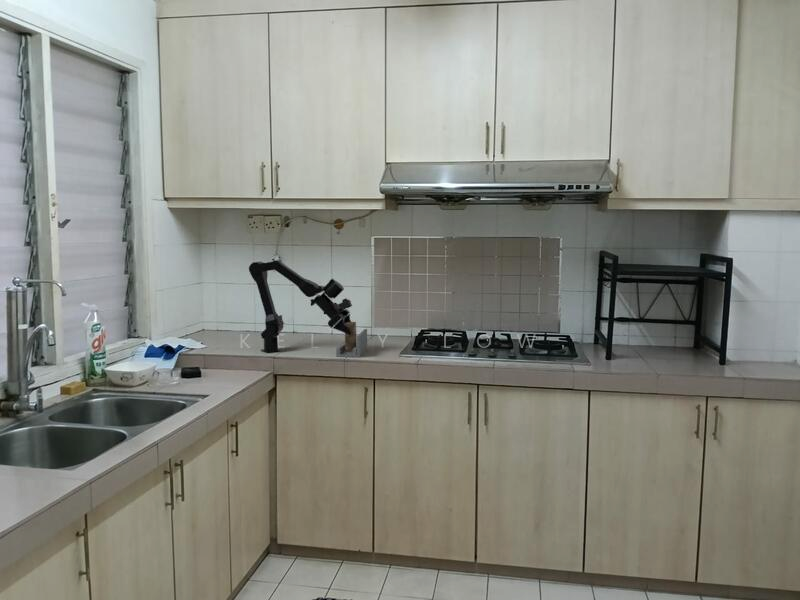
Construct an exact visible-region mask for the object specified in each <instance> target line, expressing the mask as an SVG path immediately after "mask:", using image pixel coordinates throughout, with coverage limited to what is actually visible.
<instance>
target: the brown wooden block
mask: <svg viewBox="0 0 800 600" xmlns="http://www.w3.org/2000/svg"><path fill="white" fill-rule="evenodd" d="M346 326H347V327H348V329H349V330H350V331H351V334H350V335H349V334H346V333H344V342H345V352H353V348H354V347H355V346H357V322H356V321H351V322H347V323H346Z"/></svg>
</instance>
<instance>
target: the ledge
mask: <svg viewBox="0 0 800 600" xmlns="http://www.w3.org/2000/svg"><path fill="white" fill-rule="evenodd" d="M367 350H368V329H367V328H365V329H363V330H362V331H361V332H359V334H356V346H355V347H354V348H353V352H345V341H344V342H342V343H341V344H340V345H339V346H337V348H336V350H335V351H336V354H335V356H336V357H337V358H361V357H362V356H363V354H365V352H366V351H367Z"/></svg>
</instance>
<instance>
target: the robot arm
mask: <svg viewBox="0 0 800 600" xmlns="http://www.w3.org/2000/svg"><path fill="white" fill-rule="evenodd" d="M248 271H249V274H250V276H251V277H252V279H253V281H254V282H255V284H256V286H257V289H258V293H259V297H260V300H261V303H262V307H263V310H264V314H265V320H264V321H265V322H264V323H265V329H264V330H263V331H262V332H261V333H260V336H261V339H263V348H262V349H260V351H261V352H264V353H268V354H269V353H275V352H276V351H277V352H281V351H282V349H279V342H278V341H279V340H278V336H279V335H280V332H282V331H283V329H284V324H285V322H284V320H283V315H282V314H280V315H279V314H278V313H277V312H276V307H275V304H274V301H273V297H272V294H271V293H272V292H271V290H270V287H269V286H270V285H269V284H268V272H269V271H276V272H277V273H279V274H280V275H281V276H282V277H284V278H286V279H287V280H289V281H290V282H292V283H293V284H294V285H296V287H298V290H300V292H301V293H303V295H305V297H308V298H311V299H310V306H311V307H312V306H314V305H316V306H317V307H318V308H319V309H320V310H321V311H322V313H323V314H324V315H326V316H328V319H329V320H328V321H327V326H329V328H331V329H334V330H336V331H339V332H342V333H344V334H345V333H346V334H349V335H350V334H351V331H350V330H349V329H348V327H347V326H346V323H347V322H352V320H351V311H350V310H349V308H351V307H352V306H353V305H352V301H351V300H350V299H348V298H347V297H346V298H344V299H342V300H341V301H342V302H340V303H337V302H333V301H332V299H336V298H337V297H338V296H339V295H340V294H341V293H342V292H343V291H344V290H345V288H344V287H343V285H342V284H341V283H340V282H339V281H337V280H335V278H331V279H330V280H329V281H328V283H327V284H326V285H325V286H324V285H319V284H318V283H316V282H314V281H312V280H309V279H307V278H305V277H303V276H301V275H300V274H298V273H297V272H296V271H294V270H293V269H292V268H290V267H289V266H287V265H286V264H285V263H283V262H282V260H279V259H278V260H277V259H275V260H273V261H268V262H263V261H255V262H254V261H253V262H252V263H250V265H249V267H248ZM312 297H315V298H312Z"/></svg>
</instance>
